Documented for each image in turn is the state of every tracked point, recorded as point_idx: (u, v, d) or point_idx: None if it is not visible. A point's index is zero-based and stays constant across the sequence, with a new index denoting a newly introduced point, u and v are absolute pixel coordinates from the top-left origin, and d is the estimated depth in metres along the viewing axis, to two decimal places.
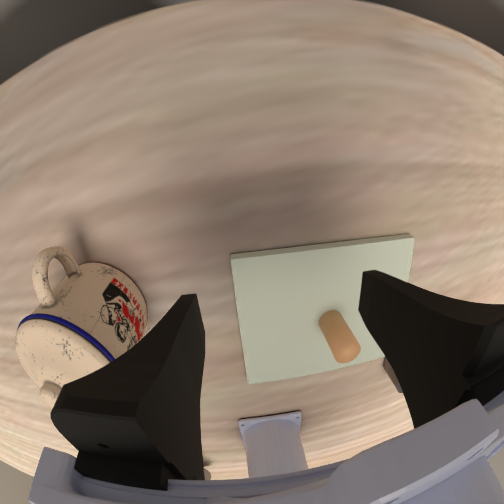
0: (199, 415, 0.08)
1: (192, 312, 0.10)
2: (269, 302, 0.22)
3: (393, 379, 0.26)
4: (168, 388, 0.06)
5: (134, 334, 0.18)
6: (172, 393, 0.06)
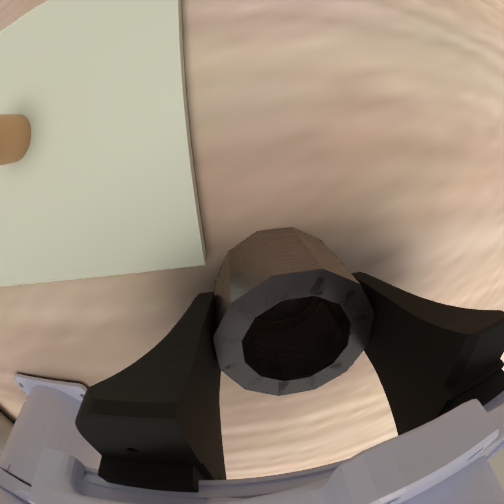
0: (219, 414, 0.08)
1: (211, 310, 0.10)
2: None
3: None
4: (197, 386, 0.06)
5: None
6: (200, 392, 0.06)
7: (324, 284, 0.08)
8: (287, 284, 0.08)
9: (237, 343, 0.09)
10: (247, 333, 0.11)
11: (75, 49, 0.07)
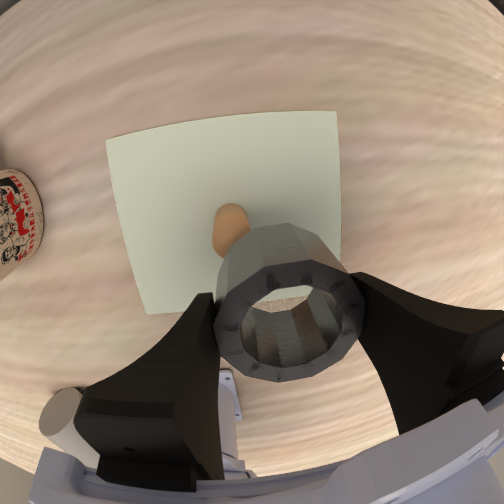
0: (218, 414, 0.08)
1: (210, 310, 0.10)
2: (148, 189, 0.17)
3: None
4: (195, 387, 0.06)
5: (13, 222, 0.14)
6: (198, 392, 0.06)
7: (313, 274, 0.09)
8: (278, 275, 0.09)
9: (236, 331, 0.10)
10: (248, 323, 0.12)
11: (279, 171, 0.18)
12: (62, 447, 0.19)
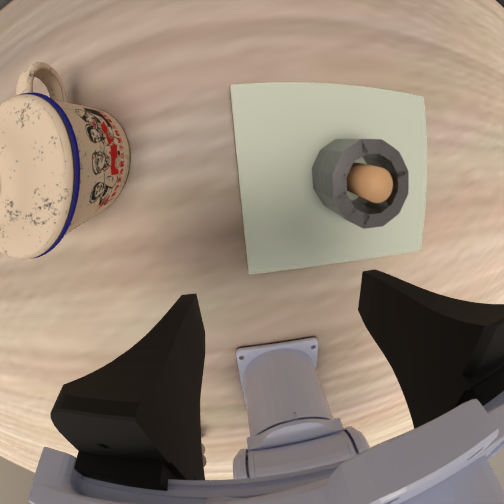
0: (199, 415, 0.08)
1: (192, 312, 0.10)
2: (274, 138, 0.18)
3: (326, 190, 0.16)
4: (168, 387, 0.06)
5: (107, 154, 0.14)
6: (172, 393, 0.06)
7: (383, 148, 0.14)
8: (367, 145, 0.14)
9: (343, 180, 0.15)
10: None
11: (386, 138, 0.18)
12: None
